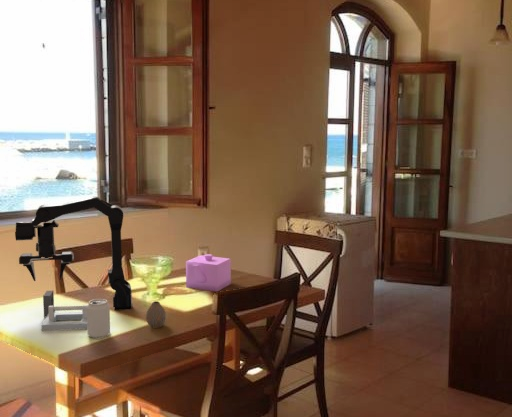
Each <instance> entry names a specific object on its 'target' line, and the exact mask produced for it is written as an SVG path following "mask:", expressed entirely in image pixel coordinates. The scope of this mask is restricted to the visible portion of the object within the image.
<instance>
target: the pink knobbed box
mask: <svg viewBox="0 0 512 417" xmlns="http://www.w3.org/2000/svg"><path fill="white" fill-rule="evenodd" d="M231 261H232V260H231V258H228V257H219V256H214V255H213V254H211V253H209V254H207V253H206V254H204V255H203V254H202V255H201V254H200V255H198V256H195V257H194V258H191V259H189V260H186V261H185V285H186V286H185V287H186V288H189V289H195V290H196V289H197V290H203V291H209V292H219V291H220V290H222V289H224V288H227V287H228V286H230V285H231V280H232V279H231V278H232V277H231V274H232V273H231V270H232V268H231V267H232V266H231V265H232V264H231V263H232V262H231Z"/></svg>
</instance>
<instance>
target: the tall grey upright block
mask: <svg viewBox="0 0 512 417" xmlns="http://www.w3.org/2000/svg"><path fill="white" fill-rule="evenodd" d="M42 298H43V299H42V302H43V317H47V315H48V313H49V310H48V307H49V306H54V307H55V298H54V290H46V291H45V292H44V294H43V296H42Z"/></svg>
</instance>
